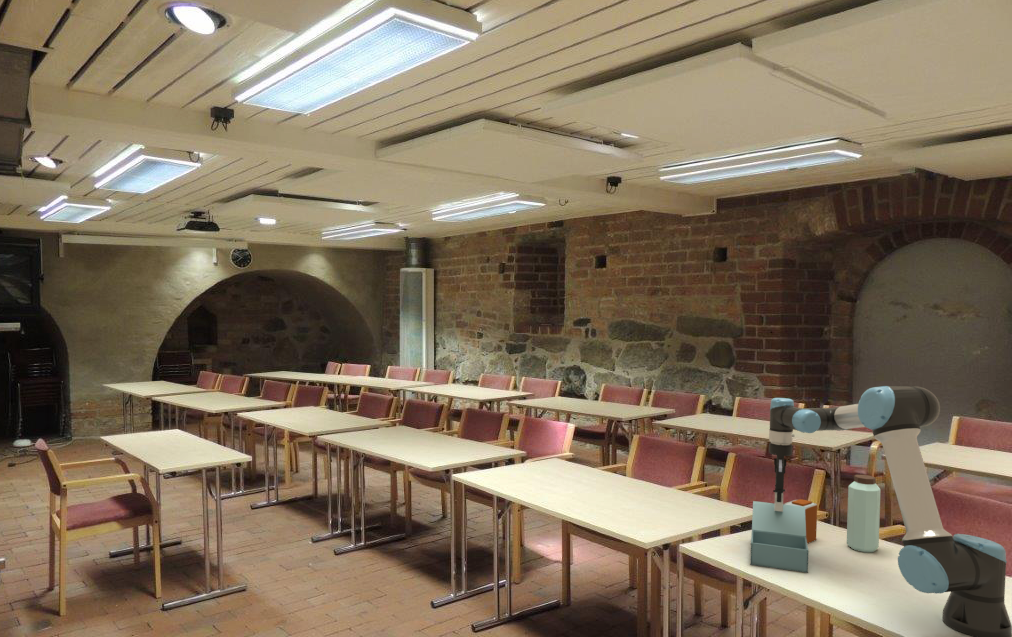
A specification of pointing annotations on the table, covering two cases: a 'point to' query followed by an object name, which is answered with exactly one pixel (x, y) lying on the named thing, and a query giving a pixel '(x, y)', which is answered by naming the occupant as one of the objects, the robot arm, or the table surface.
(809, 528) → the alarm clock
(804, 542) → the grey-green open box
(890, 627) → the table surface
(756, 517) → the lid
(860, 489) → the water bottle
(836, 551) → the table surface
